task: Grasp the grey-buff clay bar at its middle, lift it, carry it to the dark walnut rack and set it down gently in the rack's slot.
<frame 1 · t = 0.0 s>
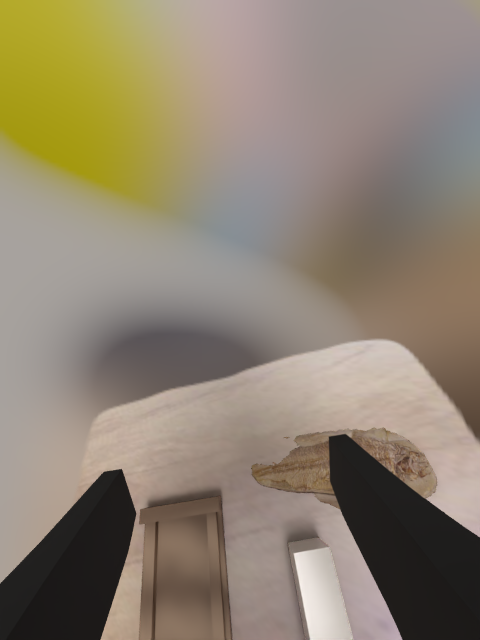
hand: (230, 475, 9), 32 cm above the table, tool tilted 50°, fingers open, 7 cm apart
rack: (186, 594, 30), on the table
fish fossil: (335, 464, 37), on the table
clay bar: (318, 613, 29), on the table
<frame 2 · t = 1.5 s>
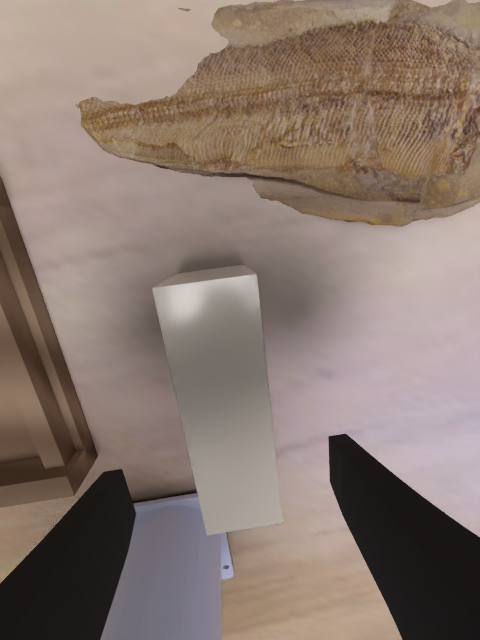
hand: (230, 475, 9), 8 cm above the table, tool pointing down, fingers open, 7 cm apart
fish fossil: (316, 113, 14), on the table
clay bar: (225, 365, 17), on the table
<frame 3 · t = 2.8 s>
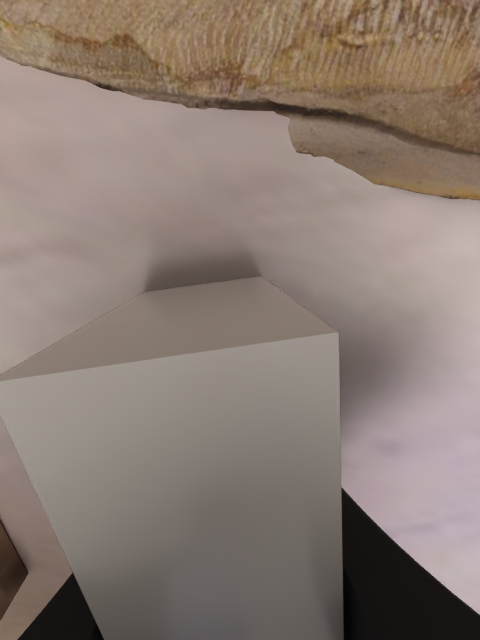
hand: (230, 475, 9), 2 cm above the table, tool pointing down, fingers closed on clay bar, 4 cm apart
clay bar: (229, 440, 10), on the table, touching gripper
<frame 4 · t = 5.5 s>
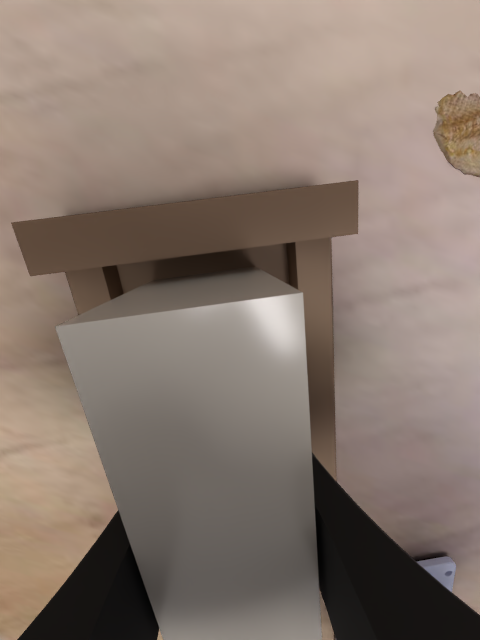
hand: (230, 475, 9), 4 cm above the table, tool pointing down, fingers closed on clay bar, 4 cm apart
rack: (228, 406, 13), on the table
clay bar: (227, 415, 12), point 1 cm above the table, touching gripper, rack
when the fingers open (4 cm above the table, at t = 5.9 s): clay bar stays where it is, resting on rack.
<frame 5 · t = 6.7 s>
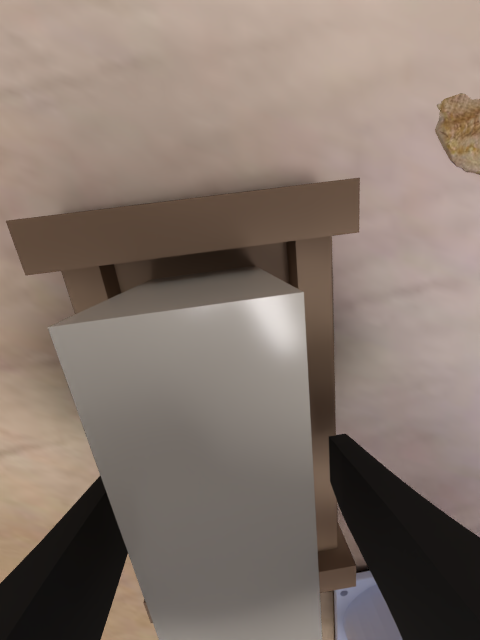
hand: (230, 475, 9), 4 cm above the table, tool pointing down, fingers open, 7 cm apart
rack: (227, 407, 13), on the table
clay bar: (226, 416, 12), point 1 cm above the table, touching rack
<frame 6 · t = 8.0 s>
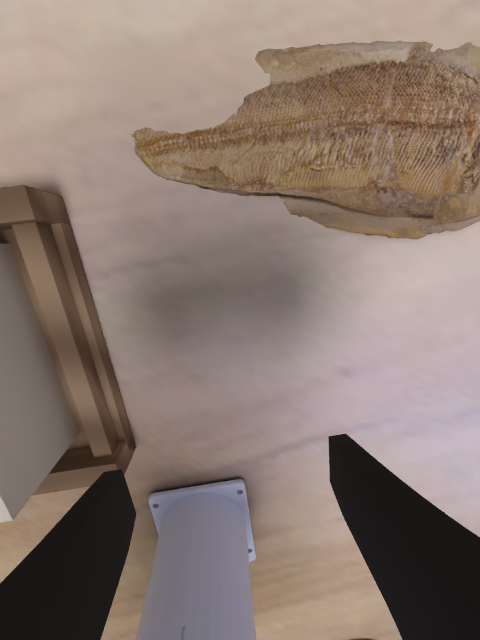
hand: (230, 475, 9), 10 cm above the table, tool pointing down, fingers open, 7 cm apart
rack: (29, 350, 17), on the table
fish fossil: (341, 139, 16), on the table
clay bar: (16, 353, 16), point 1 cm above the table, touching rack
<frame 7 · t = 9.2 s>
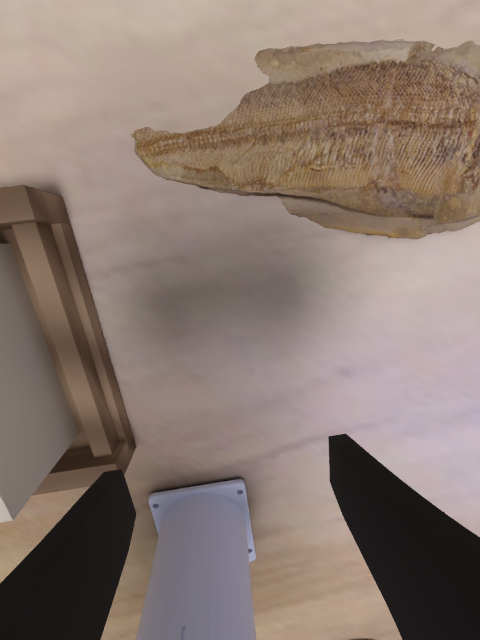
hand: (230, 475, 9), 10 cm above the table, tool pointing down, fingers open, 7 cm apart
rack: (29, 350, 17), on the table
fish fossil: (341, 139, 16), on the table
clay bar: (16, 353, 16), point 1 cm above the table, touching rack
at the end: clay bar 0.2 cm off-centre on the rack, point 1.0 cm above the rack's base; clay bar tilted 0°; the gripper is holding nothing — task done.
